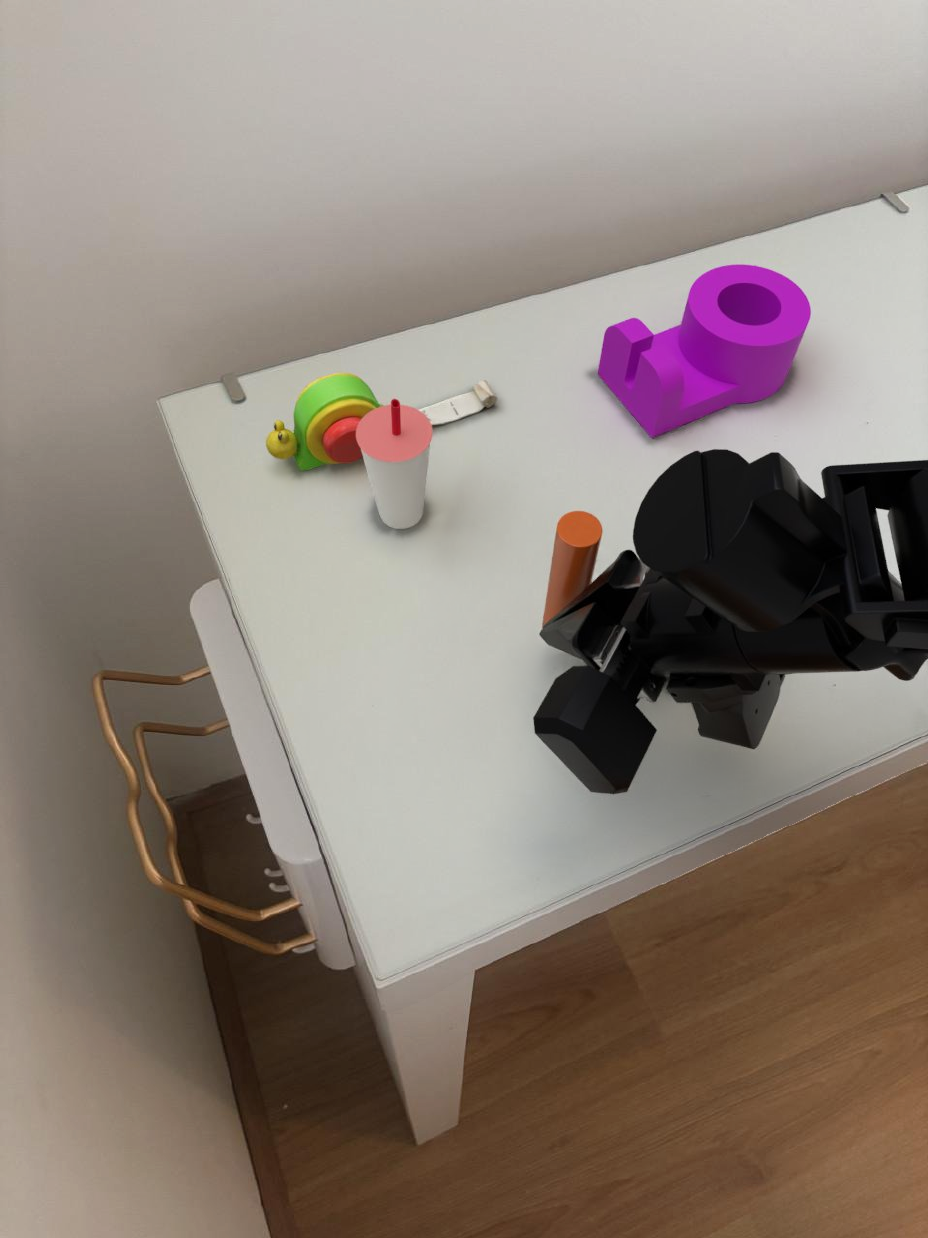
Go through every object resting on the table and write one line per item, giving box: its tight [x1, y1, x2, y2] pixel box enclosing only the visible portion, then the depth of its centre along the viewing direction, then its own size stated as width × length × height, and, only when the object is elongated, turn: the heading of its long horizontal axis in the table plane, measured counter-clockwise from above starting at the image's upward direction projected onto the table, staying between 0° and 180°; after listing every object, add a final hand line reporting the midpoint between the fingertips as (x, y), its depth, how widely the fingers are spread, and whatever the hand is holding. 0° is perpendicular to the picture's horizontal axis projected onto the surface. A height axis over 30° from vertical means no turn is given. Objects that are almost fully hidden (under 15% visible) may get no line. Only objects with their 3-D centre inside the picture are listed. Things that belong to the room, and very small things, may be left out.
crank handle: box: [541, 510, 604, 629], centre depth 57 cm, size 13×3×12 cm, turn 98°
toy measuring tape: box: [265, 372, 497, 472], centre depth 73 cm, size 6×20×7 cm, turn 114°
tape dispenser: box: [597, 263, 812, 439], centre depth 77 cm, size 16×10×6 cm, turn 118°
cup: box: [356, 398, 434, 530], centre depth 66 cm, size 5×5×12 cm
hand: (545, 635), depth 57 cm, fingers closed
